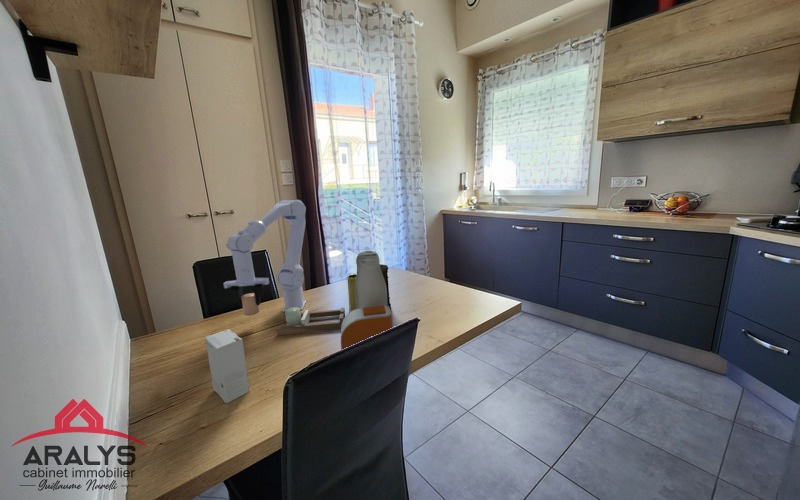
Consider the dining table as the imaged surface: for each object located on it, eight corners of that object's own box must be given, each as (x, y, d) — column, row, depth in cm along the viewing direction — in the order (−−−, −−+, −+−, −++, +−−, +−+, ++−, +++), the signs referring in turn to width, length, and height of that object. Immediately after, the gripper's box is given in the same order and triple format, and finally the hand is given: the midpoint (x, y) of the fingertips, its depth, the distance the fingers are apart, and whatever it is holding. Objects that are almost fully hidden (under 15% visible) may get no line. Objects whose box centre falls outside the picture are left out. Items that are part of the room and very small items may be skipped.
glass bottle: (375, 322, 108) (369, 246, 102) (394, 331, 101) (390, 250, 95) (352, 332, 102) (345, 252, 95) (371, 343, 94) (365, 256, 88)
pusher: (306, 319, 113) (305, 309, 112) (345, 316, 114) (344, 306, 113) (302, 330, 104) (300, 319, 103) (343, 326, 106) (342, 315, 105)
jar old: (289, 324, 110) (286, 307, 109) (303, 322, 111) (301, 306, 109) (285, 330, 105) (283, 313, 104) (300, 329, 106) (298, 312, 105)
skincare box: (213, 390, 76) (201, 337, 72) (238, 378, 80) (228, 327, 77) (226, 405, 70) (214, 348, 67) (252, 391, 75) (242, 337, 72)
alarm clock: (390, 341, 95) (388, 301, 92) (395, 356, 87) (392, 313, 84) (343, 348, 92) (339, 307, 89) (342, 364, 84) (338, 319, 81)
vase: (361, 314, 116) (358, 278, 112) (346, 313, 117) (343, 278, 114) (366, 307, 121) (363, 273, 118) (352, 306, 123) (349, 273, 119)
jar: (247, 310, 110) (244, 293, 109) (261, 309, 111) (258, 292, 109) (241, 316, 105) (238, 298, 104) (256, 315, 106) (253, 297, 104)
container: (364, 314, 115) (360, 269, 111) (374, 305, 123) (371, 263, 119) (385, 317, 111) (382, 271, 107) (395, 308, 120) (392, 264, 115)
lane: (285, 320, 113) (284, 311, 112) (345, 314, 116) (344, 306, 115) (277, 335, 102) (275, 325, 101) (343, 328, 104) (342, 319, 104)
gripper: (216, 273, 100) (224, 311, 103) (262, 270, 101) (268, 307, 105) (226, 267, 107) (233, 303, 110) (268, 264, 108) (274, 299, 111)
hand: (250, 304), depth 108 cm, fingers closed on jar, 5 cm apart
